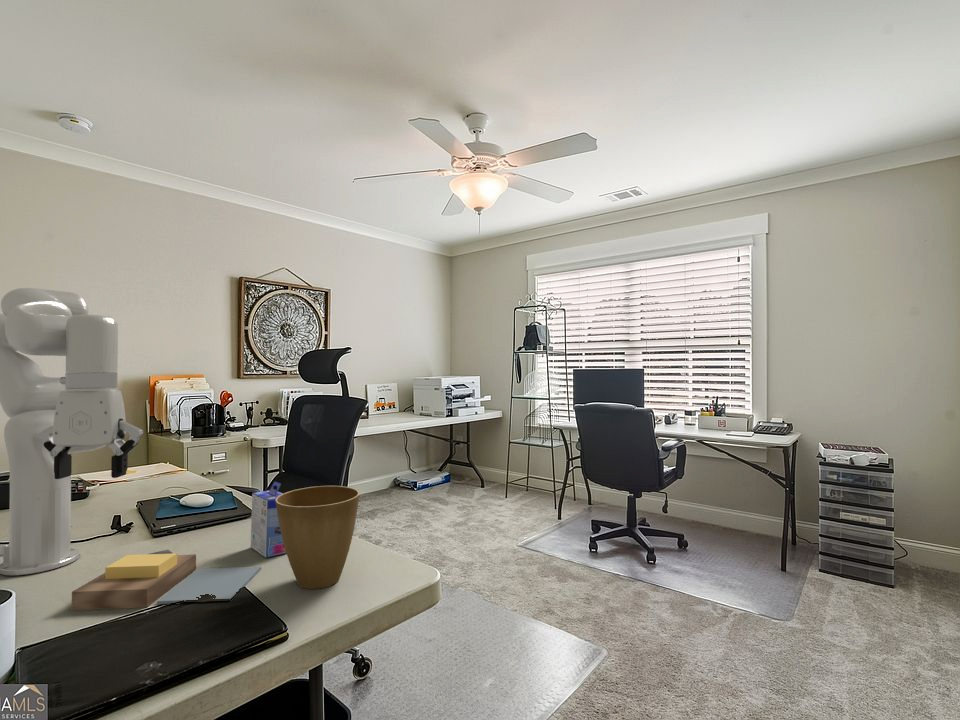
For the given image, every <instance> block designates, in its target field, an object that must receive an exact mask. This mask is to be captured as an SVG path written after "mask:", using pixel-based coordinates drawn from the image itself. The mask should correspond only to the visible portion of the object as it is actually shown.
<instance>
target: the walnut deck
mask: <svg viewBox="0 0 960 720" xmlns="http://www.w3.org/2000/svg"><path fill="white" fill-rule="evenodd" d="M195 571H197V554H195V553H193V554H191V553H190V554H177V565H175V566H174V567H172V568H171V569H169V570H168V571H167V572H165V573H164V574H162V575H161V576H159V577H146V578H119V579H105V572H104V573H102V574H100V575H99V576H97V577H95V578H93V579H91V580H89V581H88V582H86V583H84V584H83V585H81V586H80V587H77V588H76V589H74V590H73V591H71V611H85V610H90V611H91V610H107V609H108V610H111V609H112V610H114V609H134V608H135V609H136V608H139V609H140V608H149V606H151V605H152V604H154V603H155V602H157V601H158V600H159V599H161V598H162V597H163V596H164V595H166V594H167V593H168V592H170V591H171V590H172V589H173V588H175V587H176V586H177V585H179V584H180V583H181V582H182V581H184V580H185V579H186V578H188V577H189V576H190V575H191V574H193V573H194V572H195Z"/></svg>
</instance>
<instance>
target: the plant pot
mask: <svg viewBox="0 0 960 720" xmlns="http://www.w3.org/2000/svg"><path fill="white" fill-rule="evenodd" d="M360 494H361V493H360V491H359V490H358V489H357V488H354V487H349V486H343V485H342V486H341V485H320V486H318V485H317V486H309V487H304V488H298V489H293V490H290V491H287V492H284V493H283V494H281V495H279V496H278V497H277V498H276V500H275V501H276V508H277V514H278V520H279V525H280V530H281V535H282V539H283V543H284V546H285V550H286V556H287V559H288V562H289V565H290V568H291V571H292V572H293V575H294V577H295V579H296V582H297V584H298V586H299V587H301V588H304V589H306V590H317V589H324V588H327V587H330V586H332V585H335V584H337V582H339V580H340V579H341V576H342V574H343V570H344V567H345V565H346V562H347V561H346V560H347V557H348V554H349V552H350V548H351V543H352V540H353V535H354V530H355V526H356V522H357V515H358V507H359V501H360Z"/></svg>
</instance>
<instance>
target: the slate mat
mask: <svg viewBox="0 0 960 720" xmlns="http://www.w3.org/2000/svg"><path fill="white" fill-rule="evenodd" d="M261 570H262V566H244V567H243V566H241V567H215V568H214V567H212V568H198V569H196V570H195V571H194V572H192V573H191V574H190V575H188V576H187V577H186V578H185V579H183V580H182V581H181V582H179V583H178V584H177V585H175V586H174V587H173V588H172V589H170V590H169V591H168V592H166V593H165V594H164V595H162V596H161V597H160V598H159V599H157V600H156V604H157V605H171V604H170V603H175V602H178V601H183V600H184V601H186V600H198V598H196V597H199V598H201V596H200V595H205V594H209V595H211V594H212V595H215V596H216V598H215V599H231V598H232V597H233V596H234V595H235V594H236V592H238V591H239V589H240V588H242V587H246V586H247V585H248V584H249V583H250V582H251V580H253V578H255V576H256V575H257V574H258V573H259V572H260V571H261ZM212 595H211V596H212ZM213 599H214V598H213Z"/></svg>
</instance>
